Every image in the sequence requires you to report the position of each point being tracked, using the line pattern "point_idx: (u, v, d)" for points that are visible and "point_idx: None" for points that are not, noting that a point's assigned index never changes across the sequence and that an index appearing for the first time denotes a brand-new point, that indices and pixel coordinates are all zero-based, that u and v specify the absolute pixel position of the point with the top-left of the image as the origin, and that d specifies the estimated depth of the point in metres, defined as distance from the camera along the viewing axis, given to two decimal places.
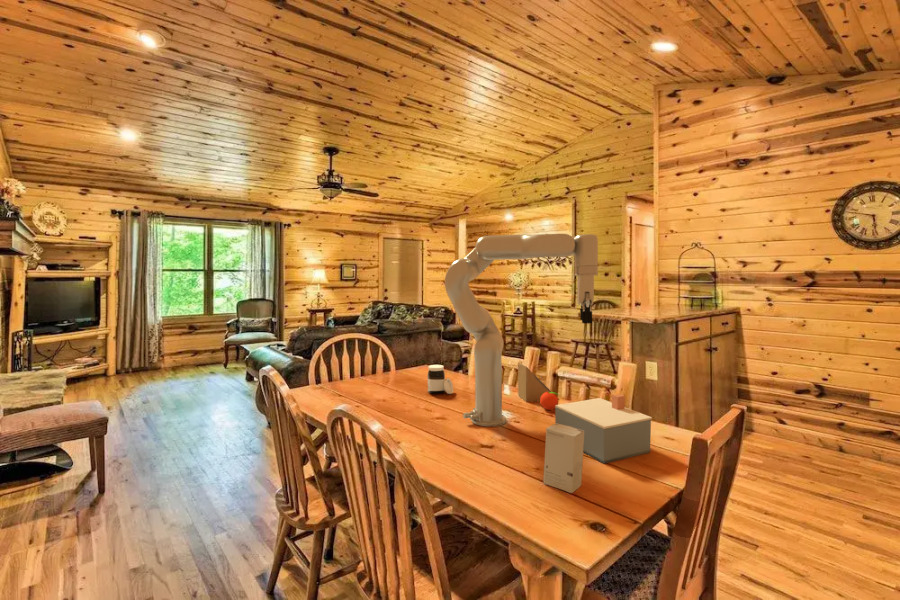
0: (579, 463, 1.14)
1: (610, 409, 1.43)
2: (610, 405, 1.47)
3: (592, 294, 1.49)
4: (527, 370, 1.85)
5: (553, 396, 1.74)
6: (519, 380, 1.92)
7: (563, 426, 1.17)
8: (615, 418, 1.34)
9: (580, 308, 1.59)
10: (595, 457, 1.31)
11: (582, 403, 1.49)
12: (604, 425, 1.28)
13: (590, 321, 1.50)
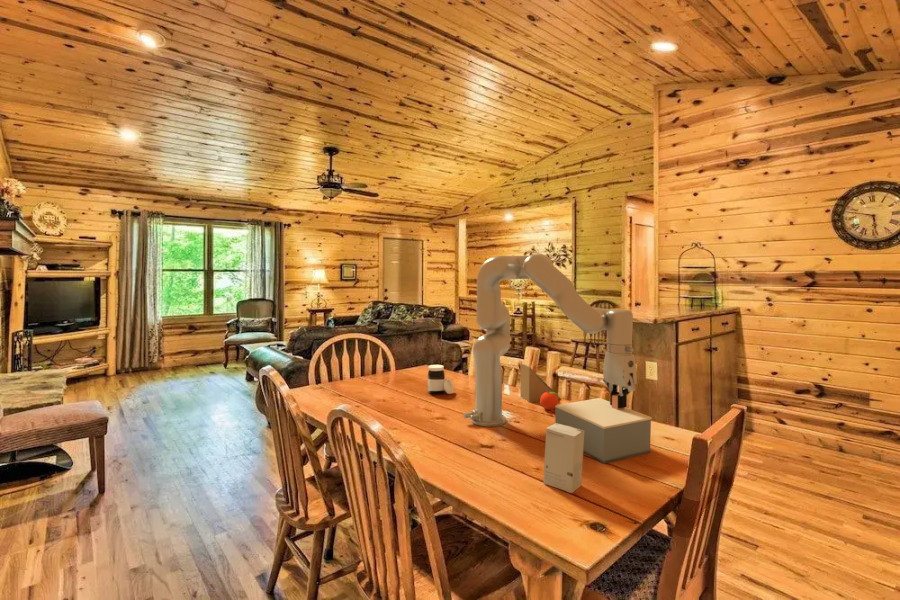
0: (579, 463, 1.14)
1: (610, 409, 1.43)
2: (610, 405, 1.47)
3: None
4: (530, 370, 1.85)
5: (553, 396, 1.74)
6: (521, 380, 1.92)
7: (563, 426, 1.17)
8: (615, 418, 1.34)
9: None
10: (595, 457, 1.31)
11: (582, 403, 1.49)
12: (604, 425, 1.28)
13: None
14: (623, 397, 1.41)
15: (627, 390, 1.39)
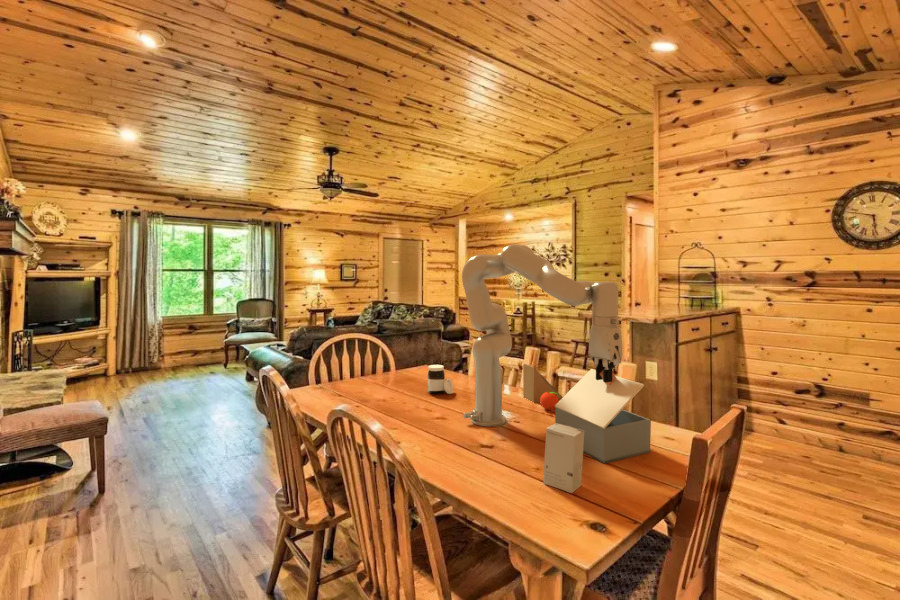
0: (579, 463, 1.14)
1: (604, 387, 1.41)
2: None
3: None
4: (535, 371, 1.84)
5: (553, 396, 1.74)
6: (525, 381, 1.91)
7: (563, 426, 1.17)
8: (611, 403, 1.33)
9: (611, 368, 1.40)
10: (595, 457, 1.31)
11: (577, 388, 1.48)
12: (603, 424, 1.28)
13: None
14: (609, 371, 1.38)
15: (613, 363, 1.36)
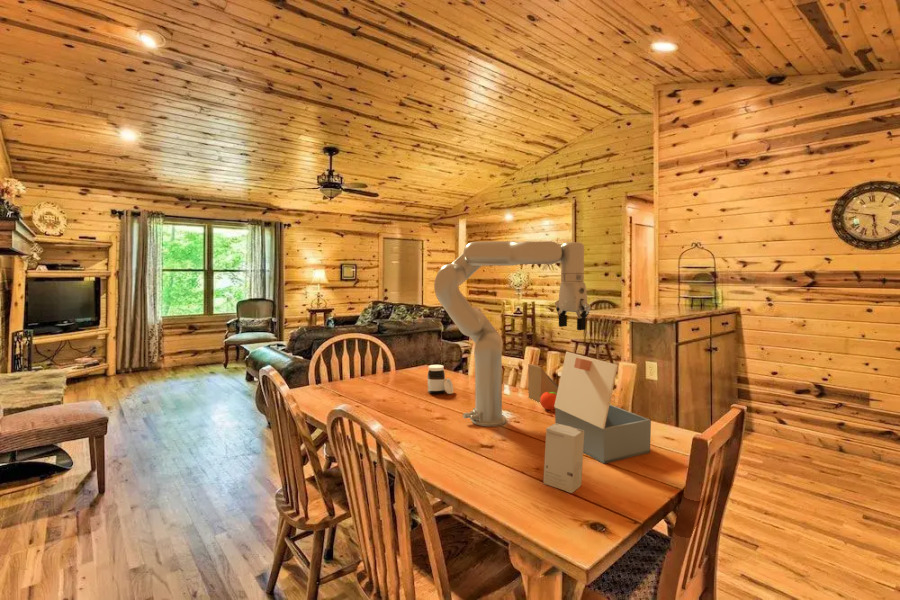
0: (579, 463, 1.14)
1: (585, 375, 1.37)
2: None
3: None
4: (542, 371, 1.84)
5: (553, 396, 1.74)
6: (530, 381, 1.90)
7: (563, 426, 1.17)
8: (598, 396, 1.31)
9: None
10: (595, 457, 1.31)
11: (564, 381, 1.45)
12: (601, 424, 1.28)
13: None
14: (582, 319, 1.51)
15: (585, 312, 1.49)
